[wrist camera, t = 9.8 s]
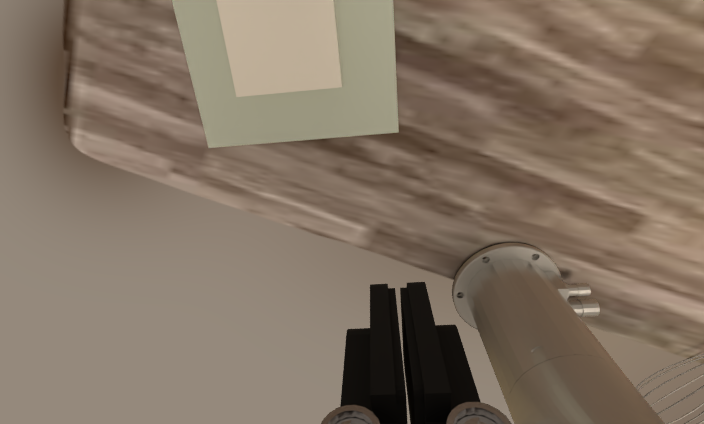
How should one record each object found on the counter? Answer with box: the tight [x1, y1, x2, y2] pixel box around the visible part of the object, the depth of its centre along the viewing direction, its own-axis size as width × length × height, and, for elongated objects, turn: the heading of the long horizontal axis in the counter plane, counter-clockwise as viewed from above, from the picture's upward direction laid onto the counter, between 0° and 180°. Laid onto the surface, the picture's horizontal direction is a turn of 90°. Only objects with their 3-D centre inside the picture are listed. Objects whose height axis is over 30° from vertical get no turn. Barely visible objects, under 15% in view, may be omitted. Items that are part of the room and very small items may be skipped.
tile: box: [216, 0, 343, 97], centre depth 33 cm, size 2×10×10 cm
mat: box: [172, 0, 399, 148], centre depth 34 cm, size 20×20×1 cm
